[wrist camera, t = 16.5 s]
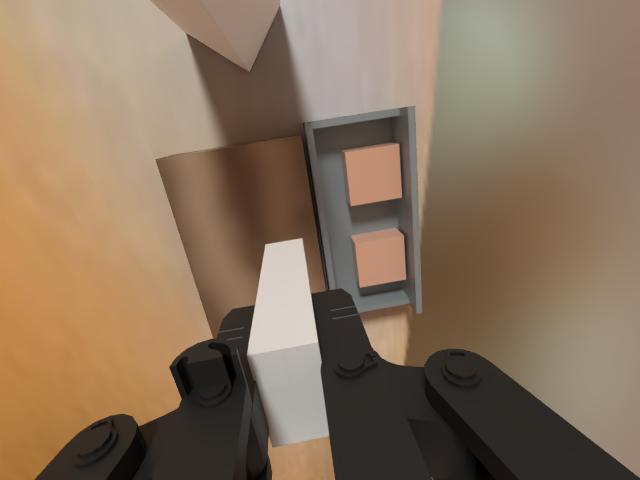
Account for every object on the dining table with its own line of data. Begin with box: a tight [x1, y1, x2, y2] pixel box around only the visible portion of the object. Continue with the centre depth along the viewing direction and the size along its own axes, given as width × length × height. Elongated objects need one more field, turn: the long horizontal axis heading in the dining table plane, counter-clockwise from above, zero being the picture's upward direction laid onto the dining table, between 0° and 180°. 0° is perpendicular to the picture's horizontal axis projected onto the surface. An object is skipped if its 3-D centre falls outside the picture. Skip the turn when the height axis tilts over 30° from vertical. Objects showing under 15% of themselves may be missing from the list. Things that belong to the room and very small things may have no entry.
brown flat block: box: [156, 135, 326, 339], centre depth 31 cm, size 12×18×4 cm, turn 9°
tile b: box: [340, 142, 402, 206], centre depth 30 cm, size 5×5×2 cm
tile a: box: [350, 228, 406, 288], centre depth 33 cm, size 5×5×2 cm
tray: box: [303, 106, 422, 314], centre depth 31 cm, size 9×20×5 cm, turn 9°
